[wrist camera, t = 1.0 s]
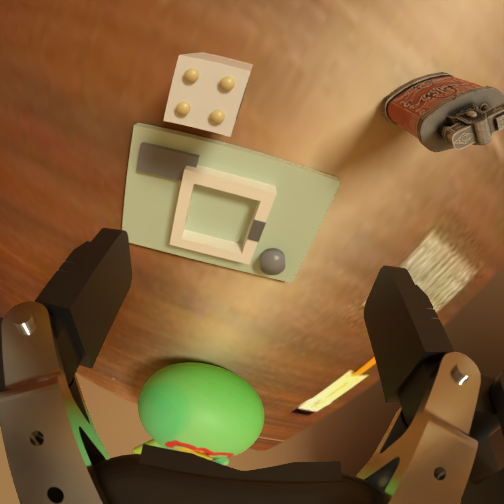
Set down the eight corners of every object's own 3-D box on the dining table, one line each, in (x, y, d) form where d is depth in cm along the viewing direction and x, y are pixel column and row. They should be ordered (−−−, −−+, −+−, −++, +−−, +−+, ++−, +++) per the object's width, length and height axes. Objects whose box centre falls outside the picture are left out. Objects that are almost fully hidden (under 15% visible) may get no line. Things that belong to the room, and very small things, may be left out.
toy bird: (283, 365, 44) (287, 459, 32) (234, 407, 53) (230, 480, 41) (163, 326, 39) (139, 429, 28) (138, 378, 48) (120, 456, 37)
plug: (190, 98, 23) (162, 121, 16) (203, 52, 21) (178, 54, 14) (239, 110, 24) (230, 138, 17) (253, 64, 21) (251, 71, 15)
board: (124, 234, 31) (115, 250, 29) (138, 122, 24) (126, 130, 22) (290, 276, 34) (292, 294, 32) (338, 177, 27) (345, 190, 25)
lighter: (390, 130, 24) (447, 178, 16) (374, 96, 22) (432, 128, 14) (459, 99, 21) (531, 134, 13) (447, 65, 20) (523, 87, 12)
